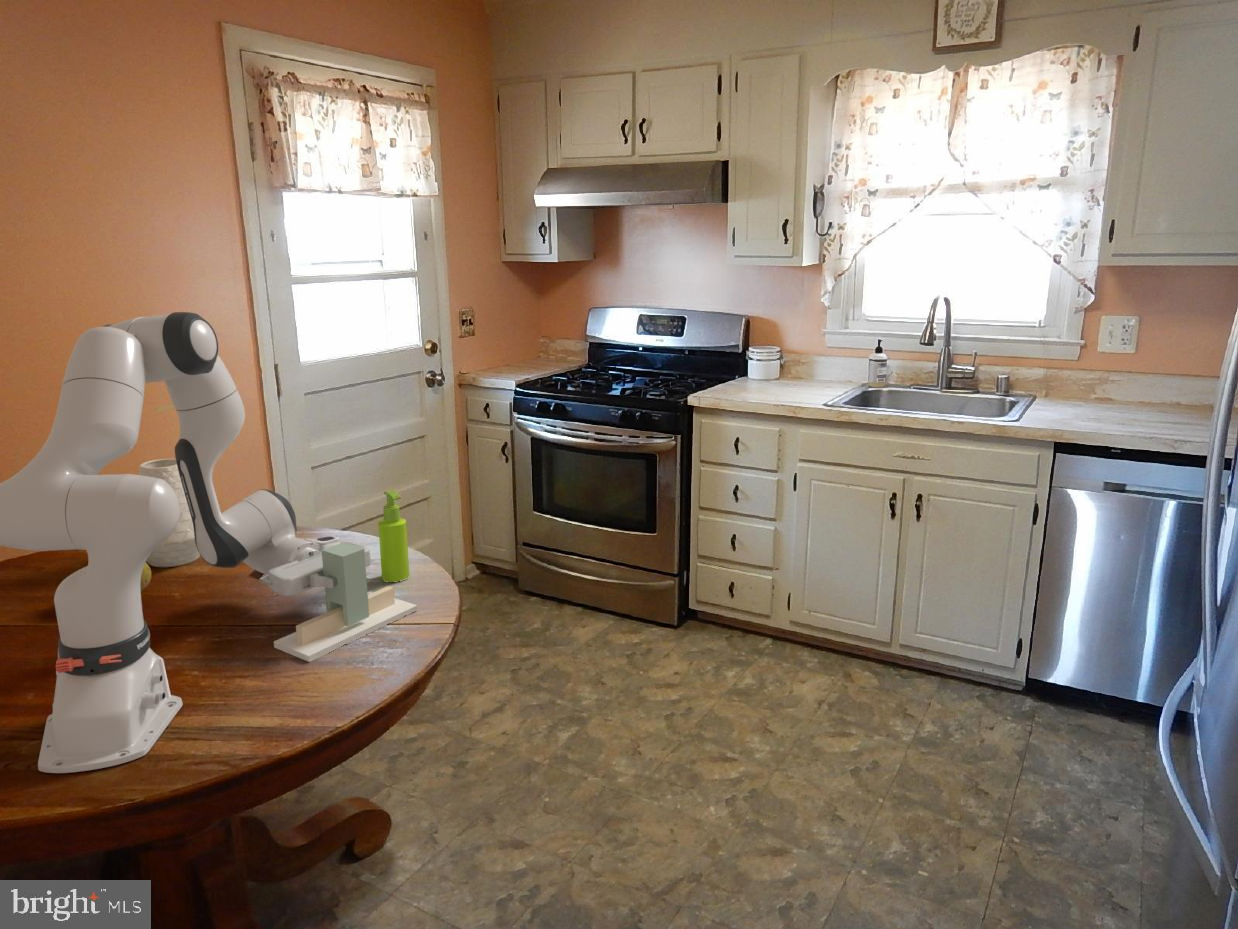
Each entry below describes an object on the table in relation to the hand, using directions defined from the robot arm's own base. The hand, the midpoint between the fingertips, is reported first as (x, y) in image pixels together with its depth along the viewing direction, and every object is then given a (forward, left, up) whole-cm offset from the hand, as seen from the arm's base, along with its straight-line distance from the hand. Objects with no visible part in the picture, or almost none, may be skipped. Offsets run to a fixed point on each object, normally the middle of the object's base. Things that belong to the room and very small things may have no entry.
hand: (348, 577), depth 161 cm
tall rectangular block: (+1, +1, -8) cm, 9 cm away
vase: (+50, +40, -11) cm, 64 cm away
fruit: (+27, +46, -11) cm, 54 cm away
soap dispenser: (+24, -9, -11) cm, 28 cm away
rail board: (+1, +1, -11) cm, 11 cm away
